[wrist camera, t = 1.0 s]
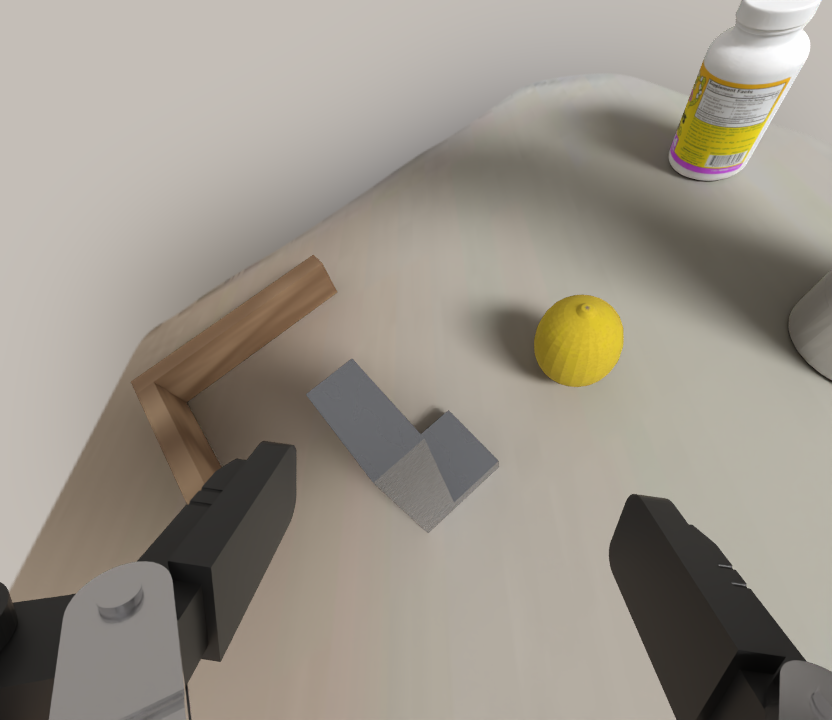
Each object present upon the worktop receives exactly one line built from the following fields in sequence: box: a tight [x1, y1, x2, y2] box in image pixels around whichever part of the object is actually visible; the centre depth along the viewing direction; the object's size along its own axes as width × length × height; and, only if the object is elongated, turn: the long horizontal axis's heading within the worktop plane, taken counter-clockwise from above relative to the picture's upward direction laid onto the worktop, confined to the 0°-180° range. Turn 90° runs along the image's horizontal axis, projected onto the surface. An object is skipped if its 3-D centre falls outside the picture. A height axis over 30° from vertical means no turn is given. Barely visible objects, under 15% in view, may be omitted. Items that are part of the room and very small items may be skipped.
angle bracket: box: [306, 359, 499, 533], centre depth 23 cm, size 5×6×14 cm
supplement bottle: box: [669, 0, 822, 181], centre depth 34 cm, size 7×7×13 cm
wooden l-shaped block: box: [131, 255, 337, 505], centre depth 33 cm, size 14×18×4 cm
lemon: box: [534, 295, 623, 387], centre depth 28 cm, size 6×6×8 cm
